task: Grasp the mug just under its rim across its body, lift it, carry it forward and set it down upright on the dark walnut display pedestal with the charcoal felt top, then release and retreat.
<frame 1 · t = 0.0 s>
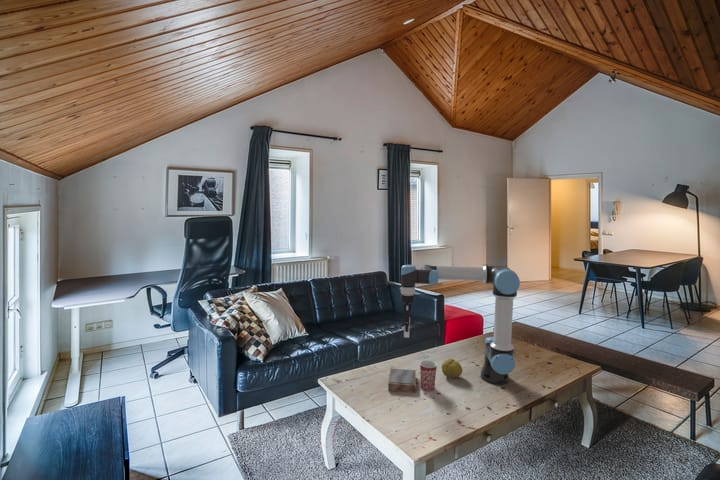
hand: (406, 332, 207), 28 cm above the table, fingers open, 13 cm apart
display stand: (402, 383, 209), on the table
fruit: (451, 377, 217), on the table
mug: (426, 386, 206), on the table
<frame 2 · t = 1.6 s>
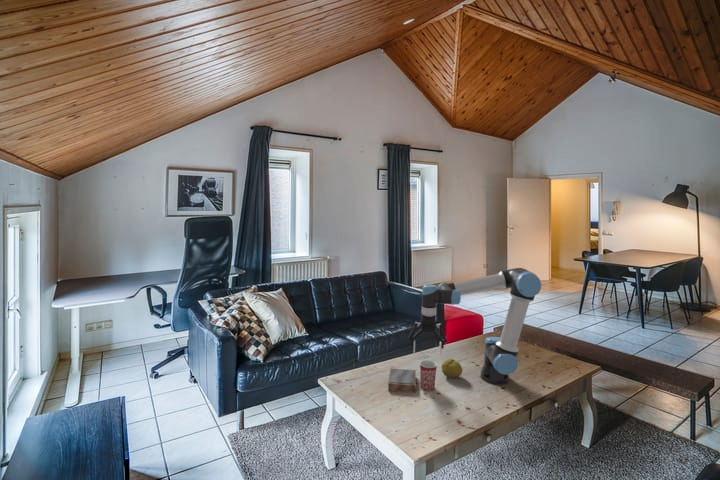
hand: (427, 353, 204), 18 cm above the table, fingers open, 13 cm apart
nothing on the table moved.
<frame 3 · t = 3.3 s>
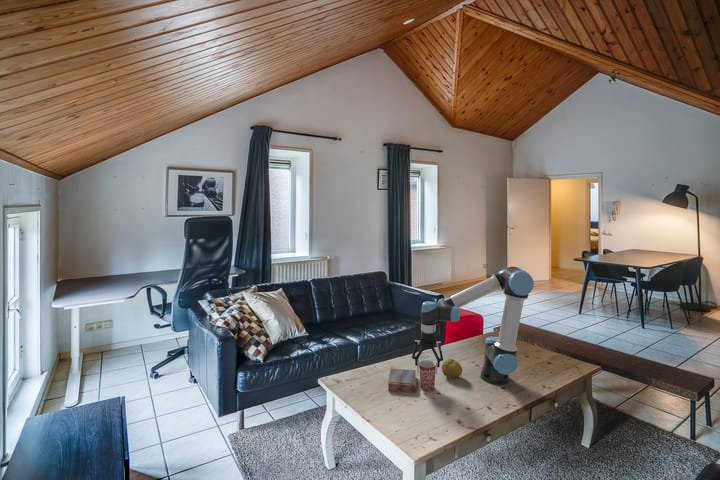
hand: (427, 372, 205), 8 cm above the table, fingers closed on mug, 9 cm apart
mug: (426, 386, 206), on the table, touching gripper
everything else where it was.
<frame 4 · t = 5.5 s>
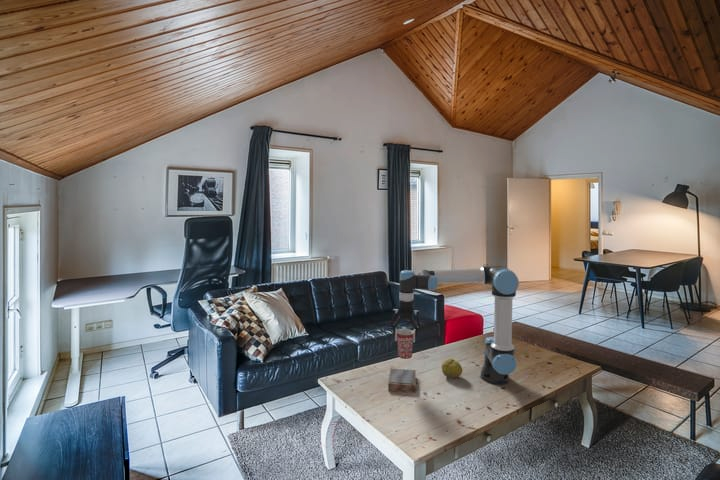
hand: (404, 340, 206), 24 cm above the table, fingers closed on mug, 9 cm apart
mug: (404, 355, 207), point 16 cm above the table, touching gripper
everything else where it was.
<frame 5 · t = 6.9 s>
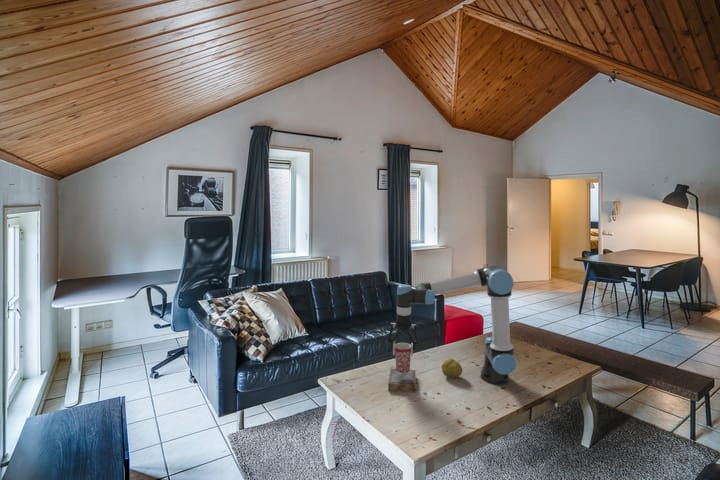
hand: (402, 354, 207), 16 cm above the table, fingers closed on mug, 9 cm apart
mug: (402, 368, 208), point 8 cm above the table, touching gripper
everything else where it was.
when the fingers open (13 cm above the table, at t = 8.0 s): mug drops 1 cm, resting on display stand.
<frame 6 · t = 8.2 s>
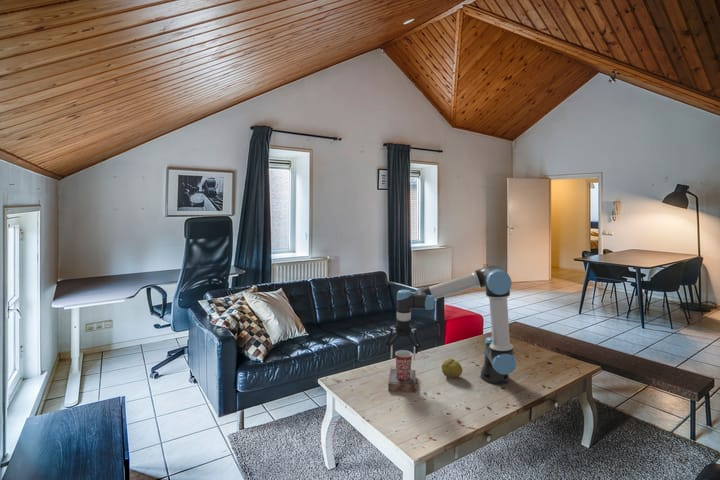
hand: (402, 358, 207), 14 cm above the table, fingers open, 11 cm apart
mug: (402, 376, 208), point 4 cm above the table, touching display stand
everything else where it was.
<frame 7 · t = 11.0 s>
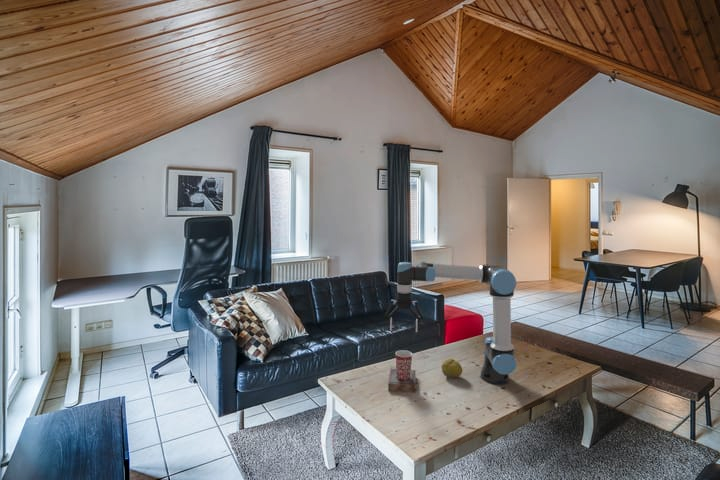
hand: (403, 330, 205), 30 cm above the table, fingers open, 13 cm apart
nothing on the table moved.
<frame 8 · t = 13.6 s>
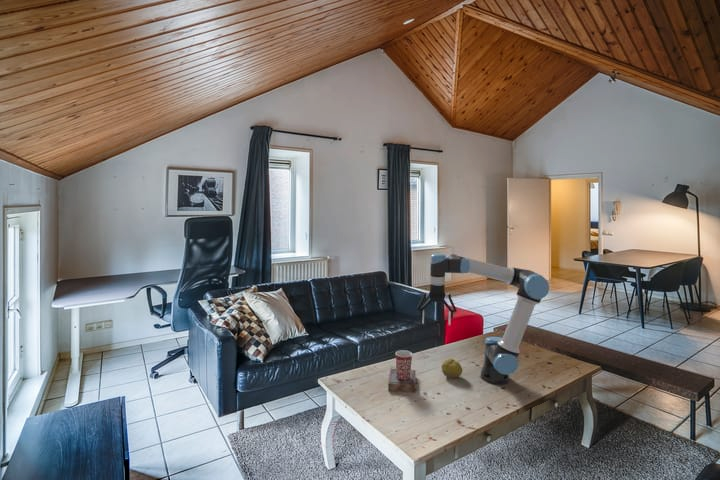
hand: (436, 323, 202), 35 cm above the table, fingers open, 13 cm apart
nothing on the table moved.
at the end: mug inside the target area on the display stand (0.1 cm from its centre), point 4.1 cm above the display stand's base; mug tilted 0°; the gripper is holding nothing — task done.
